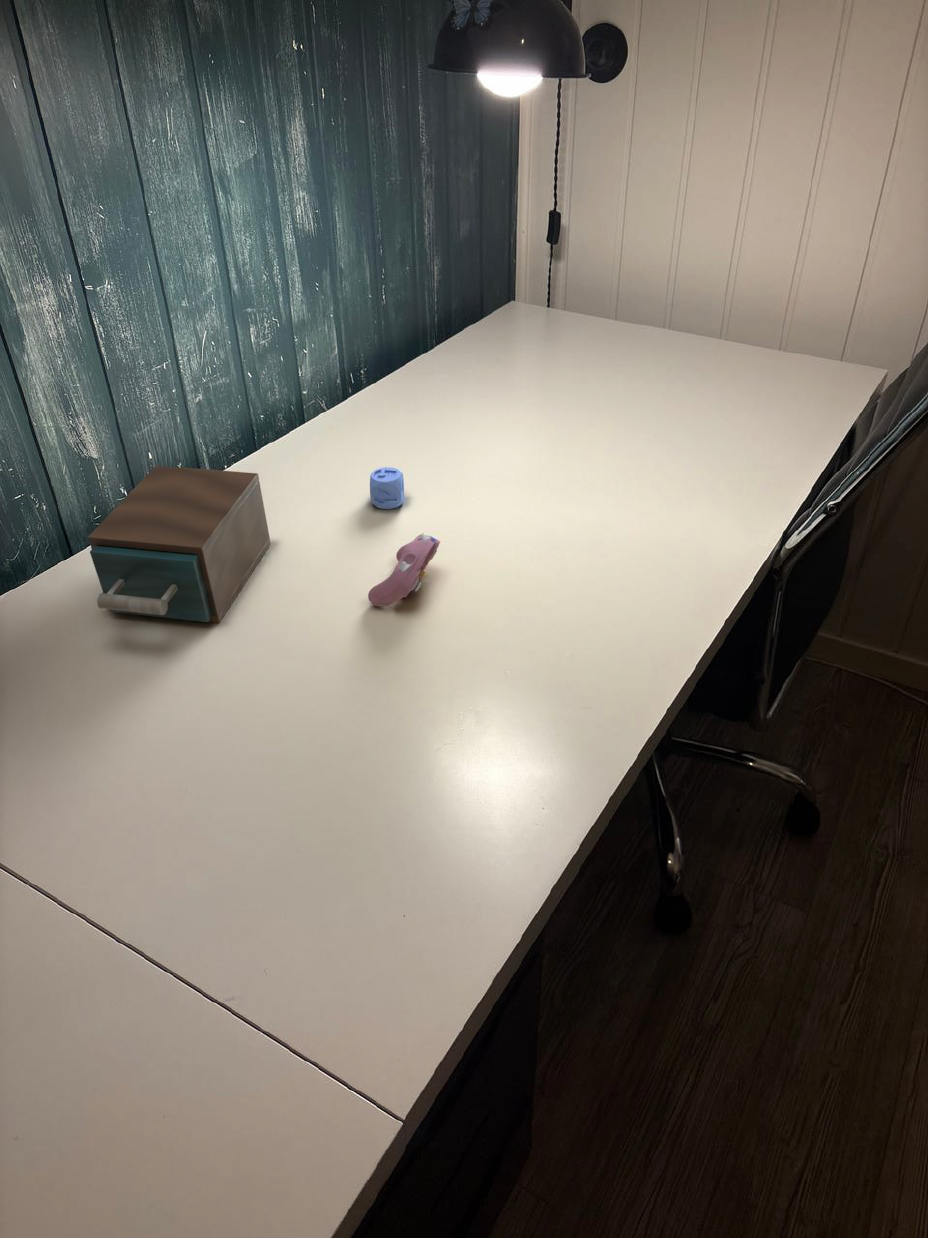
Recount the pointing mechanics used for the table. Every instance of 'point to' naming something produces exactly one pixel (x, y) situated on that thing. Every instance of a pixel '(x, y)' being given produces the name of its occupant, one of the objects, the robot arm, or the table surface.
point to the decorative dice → (387, 488)
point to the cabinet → (195, 525)
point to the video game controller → (405, 571)
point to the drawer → (151, 583)
